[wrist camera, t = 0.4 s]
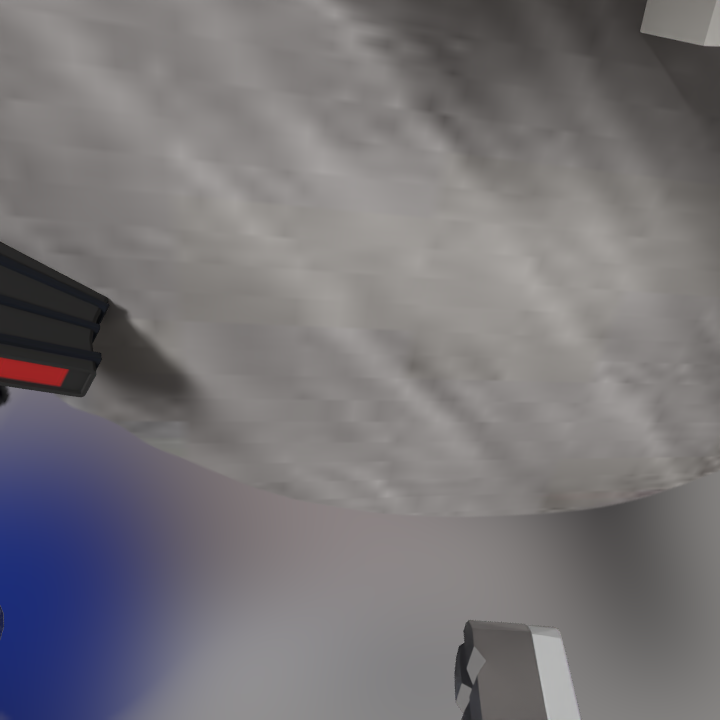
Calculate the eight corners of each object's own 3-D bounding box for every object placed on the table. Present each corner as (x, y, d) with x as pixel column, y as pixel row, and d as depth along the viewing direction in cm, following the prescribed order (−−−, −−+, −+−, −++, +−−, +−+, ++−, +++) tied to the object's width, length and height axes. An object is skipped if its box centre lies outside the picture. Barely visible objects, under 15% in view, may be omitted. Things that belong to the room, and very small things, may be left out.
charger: (654, -31, 45) (731, -31, 36) (709, -29, 45) (800, -29, 36) (639, 32, 47) (708, 47, 38) (692, 33, 47) (773, 48, 38)
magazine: (-54, 220, 52) (-65, 338, 43) (105, 266, 61) (125, 373, 51) (-66, 255, 54) (-79, 377, 44) (90, 295, 62) (107, 404, 53)
